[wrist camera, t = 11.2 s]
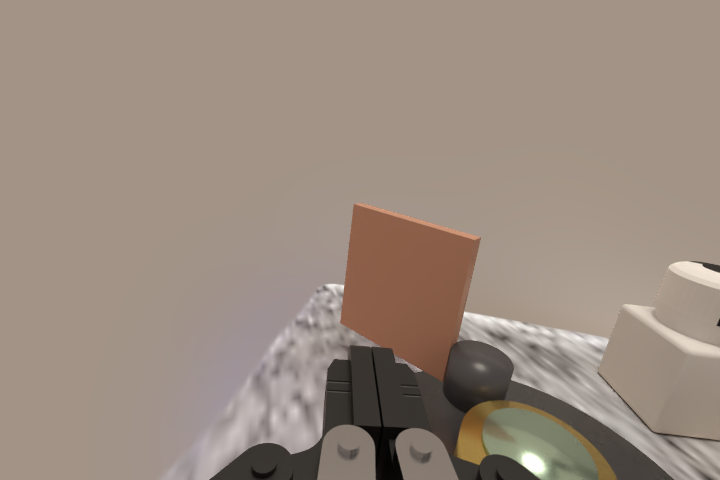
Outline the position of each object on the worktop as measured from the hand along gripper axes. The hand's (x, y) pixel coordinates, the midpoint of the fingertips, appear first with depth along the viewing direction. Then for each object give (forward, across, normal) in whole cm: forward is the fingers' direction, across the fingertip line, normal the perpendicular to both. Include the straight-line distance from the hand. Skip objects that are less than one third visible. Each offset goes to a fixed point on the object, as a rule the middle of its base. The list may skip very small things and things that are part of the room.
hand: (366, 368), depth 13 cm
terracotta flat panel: (+12, -5, +8) cm, 16 cm away
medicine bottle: (+12, -27, +11) cm, 32 cm away
